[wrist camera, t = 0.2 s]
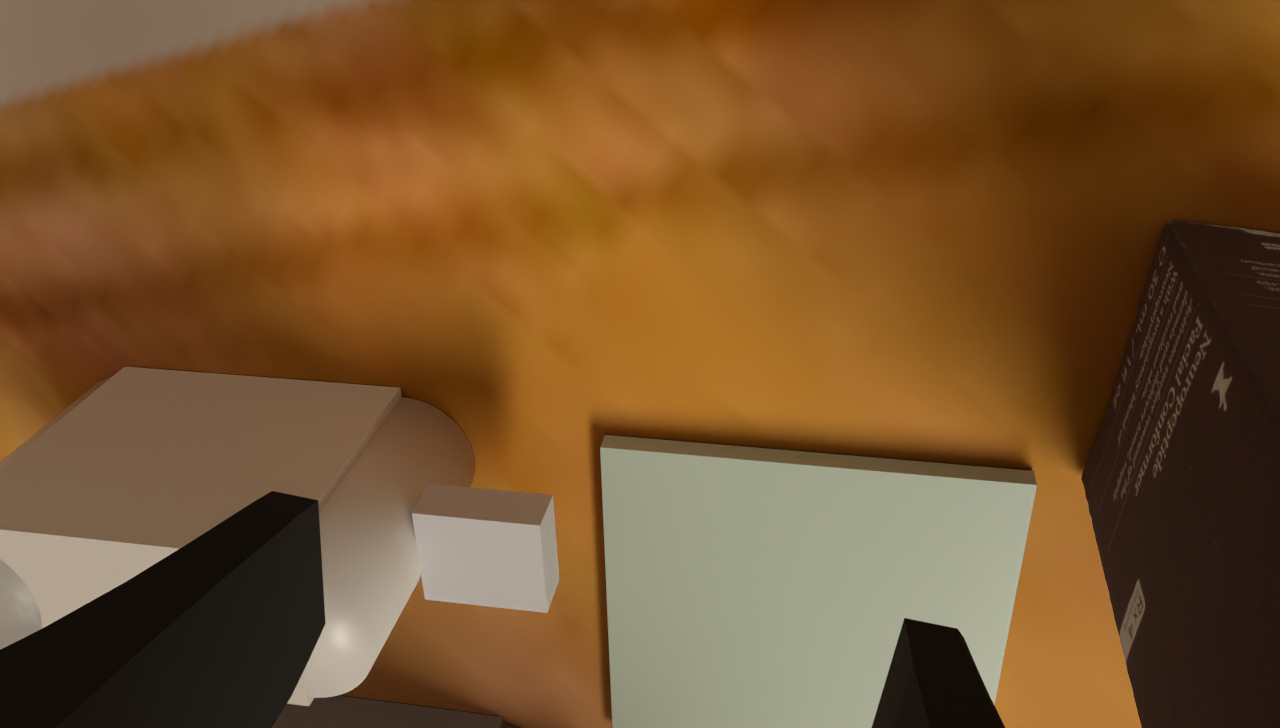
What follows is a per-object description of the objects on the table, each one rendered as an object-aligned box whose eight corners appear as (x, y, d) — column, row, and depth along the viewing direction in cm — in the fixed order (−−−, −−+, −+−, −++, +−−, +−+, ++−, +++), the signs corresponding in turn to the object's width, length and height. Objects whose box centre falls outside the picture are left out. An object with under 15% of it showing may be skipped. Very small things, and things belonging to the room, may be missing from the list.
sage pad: (975, 773, 27) (977, 789, 26) (616, 726, 28) (612, 741, 28) (1034, 470, 22) (1036, 485, 22) (604, 434, 24) (600, 447, 23)
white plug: (36, 480, 28) (-154, 646, 23) (-9, 356, 26) (-224, 505, 21) (587, 533, 25) (515, 733, 20) (579, 401, 24) (499, 582, 18)
